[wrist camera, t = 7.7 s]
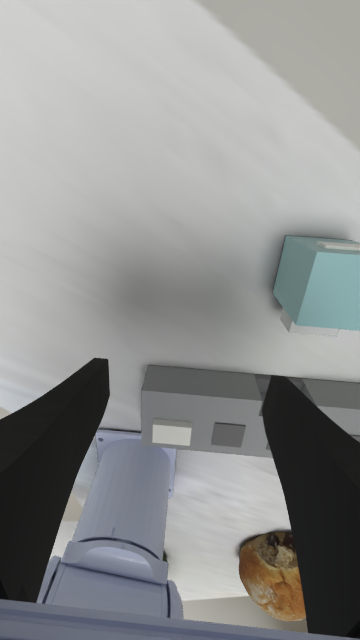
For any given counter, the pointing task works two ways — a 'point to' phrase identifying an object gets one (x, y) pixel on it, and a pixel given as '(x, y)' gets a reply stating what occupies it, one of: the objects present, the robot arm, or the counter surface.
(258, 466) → the counter surface
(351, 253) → the block
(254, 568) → the bread roll
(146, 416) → the power strip
